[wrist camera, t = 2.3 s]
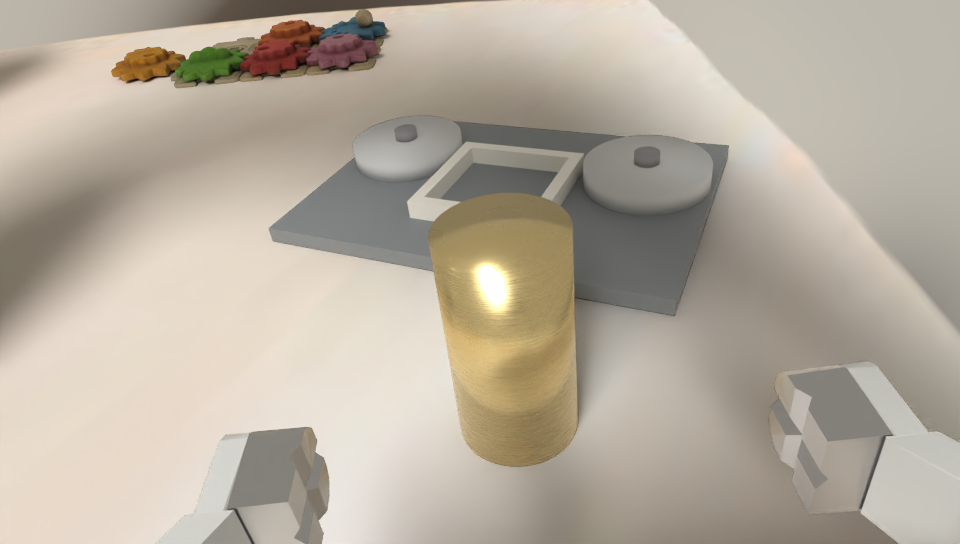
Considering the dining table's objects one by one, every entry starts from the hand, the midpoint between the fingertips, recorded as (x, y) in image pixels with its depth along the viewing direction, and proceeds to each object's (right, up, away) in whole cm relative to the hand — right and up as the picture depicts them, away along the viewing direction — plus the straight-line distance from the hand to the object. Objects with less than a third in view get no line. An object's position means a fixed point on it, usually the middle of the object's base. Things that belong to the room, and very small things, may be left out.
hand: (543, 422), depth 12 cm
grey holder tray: (+1, +8, +34) cm, 35 cm away
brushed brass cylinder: (+1, -4, +18) cm, 19 cm away
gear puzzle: (-27, +27, +67) cm, 77 cm away
